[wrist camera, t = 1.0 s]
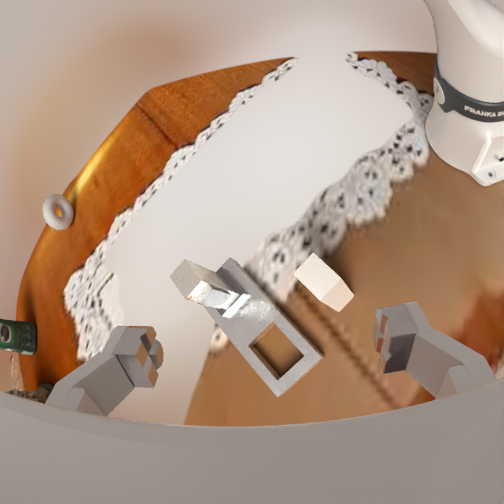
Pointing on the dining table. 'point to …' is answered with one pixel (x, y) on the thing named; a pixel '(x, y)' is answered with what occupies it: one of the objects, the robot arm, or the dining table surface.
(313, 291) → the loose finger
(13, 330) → the coffee jar
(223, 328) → the steel rail
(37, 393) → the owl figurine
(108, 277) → the dining table surface
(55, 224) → the donut
